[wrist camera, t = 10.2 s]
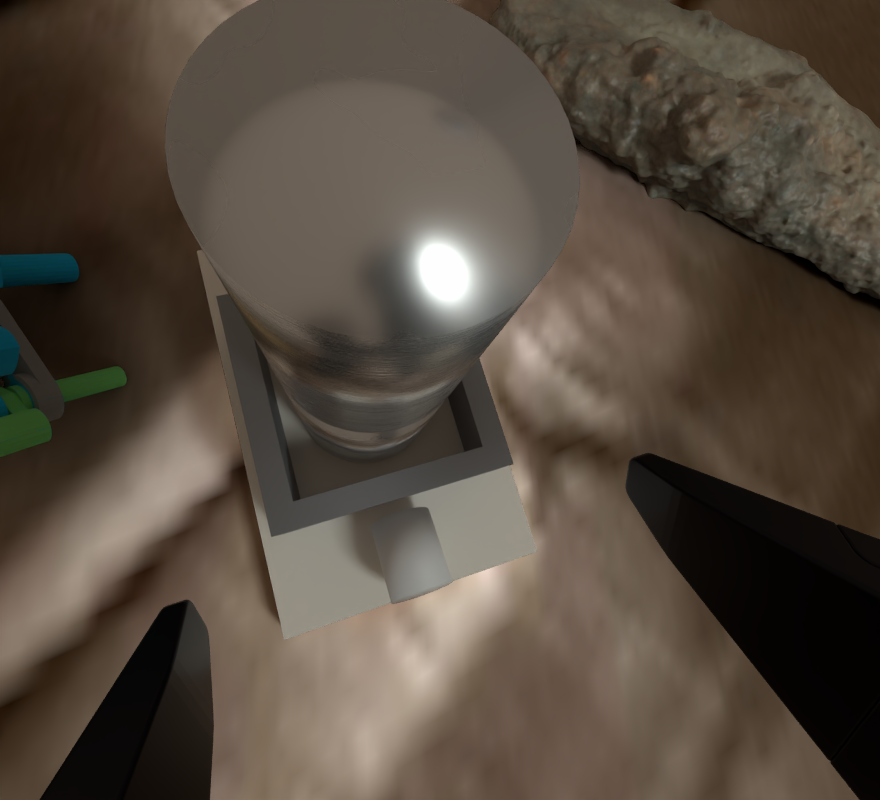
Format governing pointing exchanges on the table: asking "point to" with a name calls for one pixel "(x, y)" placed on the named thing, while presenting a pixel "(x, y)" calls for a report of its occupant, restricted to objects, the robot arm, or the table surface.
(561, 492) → the table surface
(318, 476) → the shaft mount
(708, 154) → the elongated rock
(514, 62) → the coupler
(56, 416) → the blue and green toy
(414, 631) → the table surface
